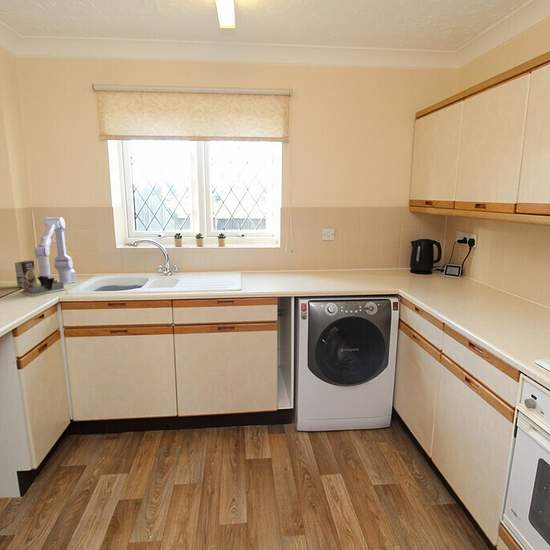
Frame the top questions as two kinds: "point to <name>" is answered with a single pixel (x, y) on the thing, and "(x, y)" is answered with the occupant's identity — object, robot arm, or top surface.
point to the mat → (45, 292)
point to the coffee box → (25, 273)
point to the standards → (27, 286)
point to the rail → (45, 288)
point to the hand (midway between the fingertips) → (47, 288)
